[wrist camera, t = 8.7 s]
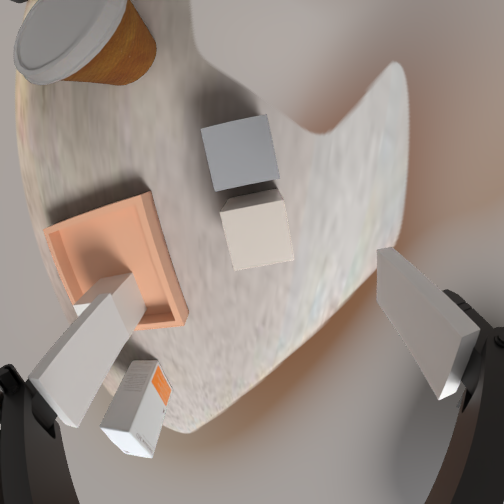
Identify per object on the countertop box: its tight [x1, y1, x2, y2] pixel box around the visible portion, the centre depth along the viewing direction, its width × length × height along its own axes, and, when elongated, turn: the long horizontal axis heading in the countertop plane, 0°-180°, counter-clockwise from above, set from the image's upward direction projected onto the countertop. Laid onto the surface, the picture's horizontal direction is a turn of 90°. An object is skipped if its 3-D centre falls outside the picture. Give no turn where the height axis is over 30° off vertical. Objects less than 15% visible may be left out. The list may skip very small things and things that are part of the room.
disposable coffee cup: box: [14, 0, 157, 85], centre depth 14 cm, size 10×10×12 cm
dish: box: [43, 191, 189, 331], centre depth 26 cm, size 13×13×2 cm
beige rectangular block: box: [220, 189, 294, 271], centre depth 22 cm, size 4×4×6 cm
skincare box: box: [100, 360, 173, 458], centre depth 27 cm, size 6×4×12 cm
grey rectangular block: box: [201, 114, 280, 192], centre depth 20 cm, size 4×4×6 cm
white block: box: [73, 272, 147, 342], centre depth 25 cm, size 4×4×6 cm
